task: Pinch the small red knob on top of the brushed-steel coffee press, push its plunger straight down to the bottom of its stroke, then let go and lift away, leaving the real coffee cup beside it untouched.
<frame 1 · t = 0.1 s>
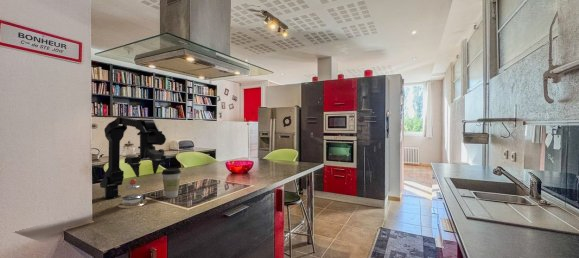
hand: (146, 175, 124), 15 cm above the countertop, fingers open, 9 cm apart
plunger: (132, 183, 124), point 11 cm above the countertop, slide at 0.0 cm
press pot: (132, 204, 124), on the countertop
coffee cup: (171, 196, 138), on the countertop
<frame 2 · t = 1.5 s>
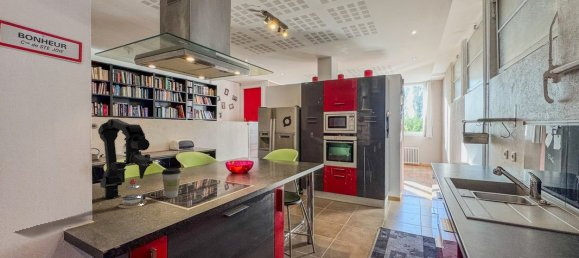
hand: (132, 180, 124), 12 cm above the countertop, fingers open, 9 cm apart
nothing on the countertop moved.
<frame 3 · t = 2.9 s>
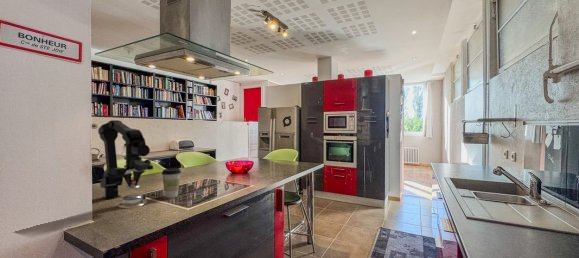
hand: (132, 186, 124), 9 cm above the countertop, fingers closed on plunger, 3 cm apart
plunger: (132, 183, 124), point 10 cm above the countertop, slide at 0.0 cm, touching gripper
everything else where it was.
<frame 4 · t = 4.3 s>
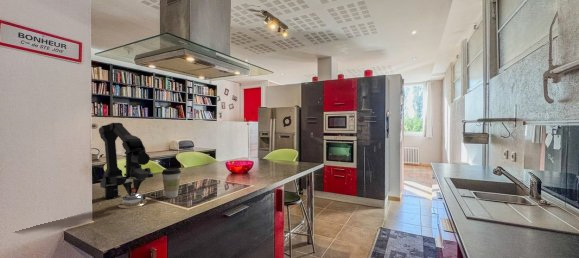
hand: (132, 194, 124), 5 cm above the countertop, fingers closed on plunger, 3 cm apart
plunger: (132, 191, 124), point 6 cm above the countertop, slide at 4.2 cm, touching gripper
everything else where it was.
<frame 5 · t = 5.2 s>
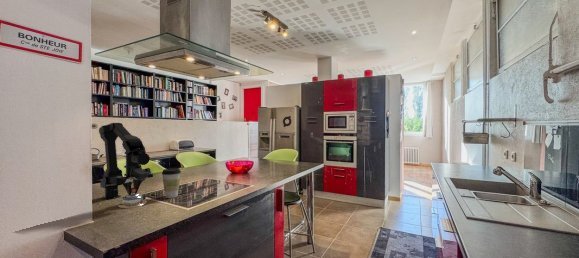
hand: (132, 194, 124), 5 cm above the countertop, fingers closed on plunger, 3 cm apart
plunger: (132, 191, 124), point 6 cm above the countertop, slide at 4.2 cm, touching gripper
everything else where it was.
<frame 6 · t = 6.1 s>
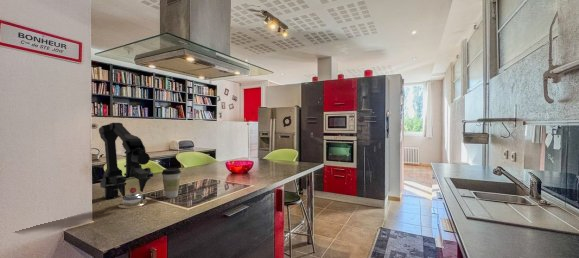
hand: (132, 193, 124), 5 cm above the countertop, fingers open, 9 cm apart
plunger: (132, 191, 124), point 6 cm above the countertop, slide at 4.2 cm
everything else where it was.
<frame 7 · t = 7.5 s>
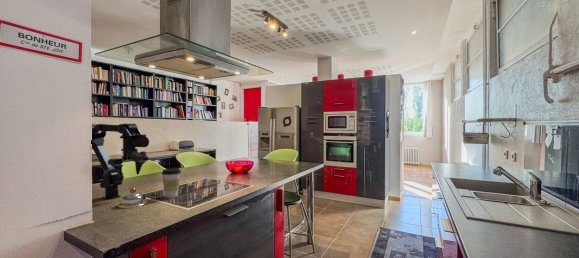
hand: (129, 175, 132), 12 cm above the countertop, fingers open, 9 cm apart
nothing on the countertop moved.
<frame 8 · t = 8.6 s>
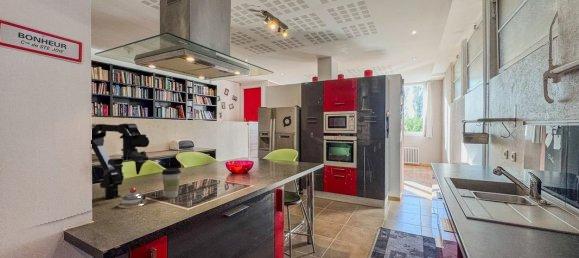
hand: (129, 175, 132), 13 cm above the countertop, fingers open, 9 cm apart
nothing on the countertop moved.
at the end: plunger slide at 4.2 cm; the gripper is holding nothing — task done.
